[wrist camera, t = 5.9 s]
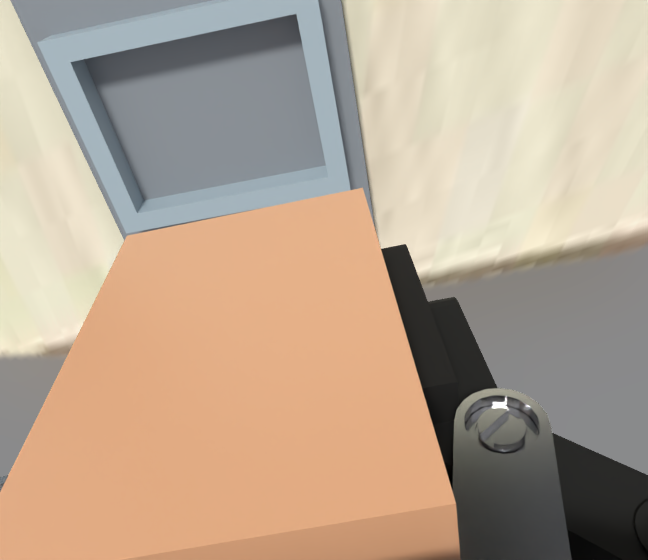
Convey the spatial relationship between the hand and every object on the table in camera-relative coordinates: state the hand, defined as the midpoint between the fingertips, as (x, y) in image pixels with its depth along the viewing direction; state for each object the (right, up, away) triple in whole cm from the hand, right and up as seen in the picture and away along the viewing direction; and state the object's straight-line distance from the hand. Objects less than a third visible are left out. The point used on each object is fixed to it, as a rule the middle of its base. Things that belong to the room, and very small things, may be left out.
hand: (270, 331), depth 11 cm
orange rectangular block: (0, +1, +1) cm, 1 cm away
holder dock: (-4, +10, +15) cm, 18 cm away
